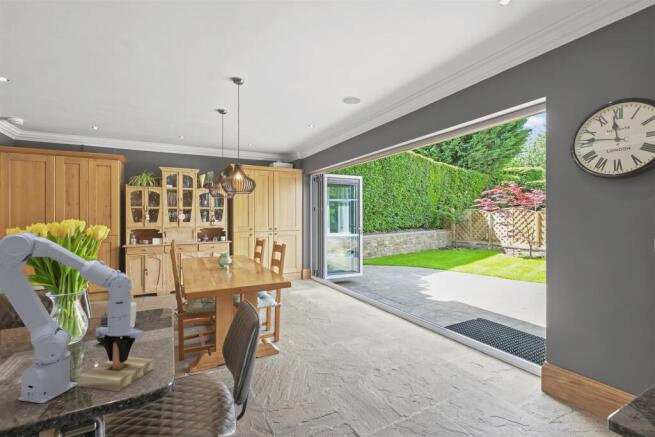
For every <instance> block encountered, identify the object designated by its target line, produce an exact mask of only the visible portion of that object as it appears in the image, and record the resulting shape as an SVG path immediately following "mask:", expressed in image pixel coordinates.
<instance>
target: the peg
mask: <svg viewBox="0 0 655 437" xmlns="http://www.w3.org/2000/svg"><path fill="white" fill-rule="evenodd" d="M124 368H125V361H124V362H122V363H120V361H119V349H118V346H117V343H116V341H115V342H113V367H112V371H120V370H122V369H124Z"/></svg>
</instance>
